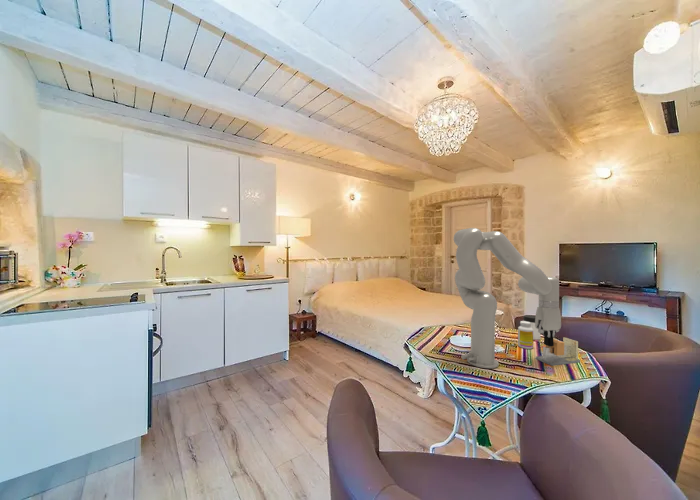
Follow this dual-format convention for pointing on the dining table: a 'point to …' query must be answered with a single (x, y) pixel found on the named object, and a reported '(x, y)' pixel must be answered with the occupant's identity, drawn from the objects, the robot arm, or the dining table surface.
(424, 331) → the dining table surface
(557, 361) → the flange rail
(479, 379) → the dining table surface
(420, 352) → the dining table surface
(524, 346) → the supplement bottle
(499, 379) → the dining table surface
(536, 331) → the jar
